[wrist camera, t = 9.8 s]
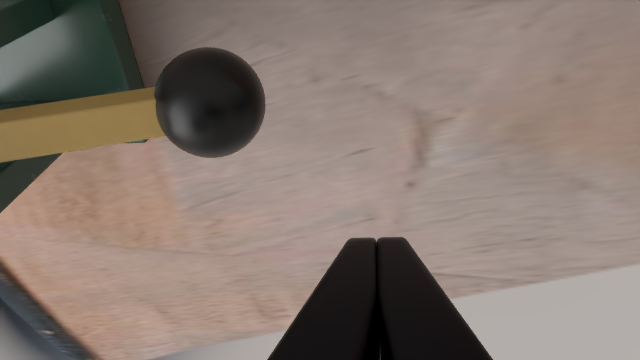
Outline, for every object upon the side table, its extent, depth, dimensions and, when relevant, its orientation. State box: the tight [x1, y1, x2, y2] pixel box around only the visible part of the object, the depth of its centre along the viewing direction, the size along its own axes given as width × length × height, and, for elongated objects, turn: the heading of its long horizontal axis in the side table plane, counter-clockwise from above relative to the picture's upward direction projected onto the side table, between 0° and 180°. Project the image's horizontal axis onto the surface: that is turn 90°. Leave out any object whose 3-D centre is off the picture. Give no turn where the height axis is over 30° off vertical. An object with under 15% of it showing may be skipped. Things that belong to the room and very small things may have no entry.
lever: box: [0, 47, 265, 163], centre depth 13 cm, size 12×3×3 cm, turn 95°
